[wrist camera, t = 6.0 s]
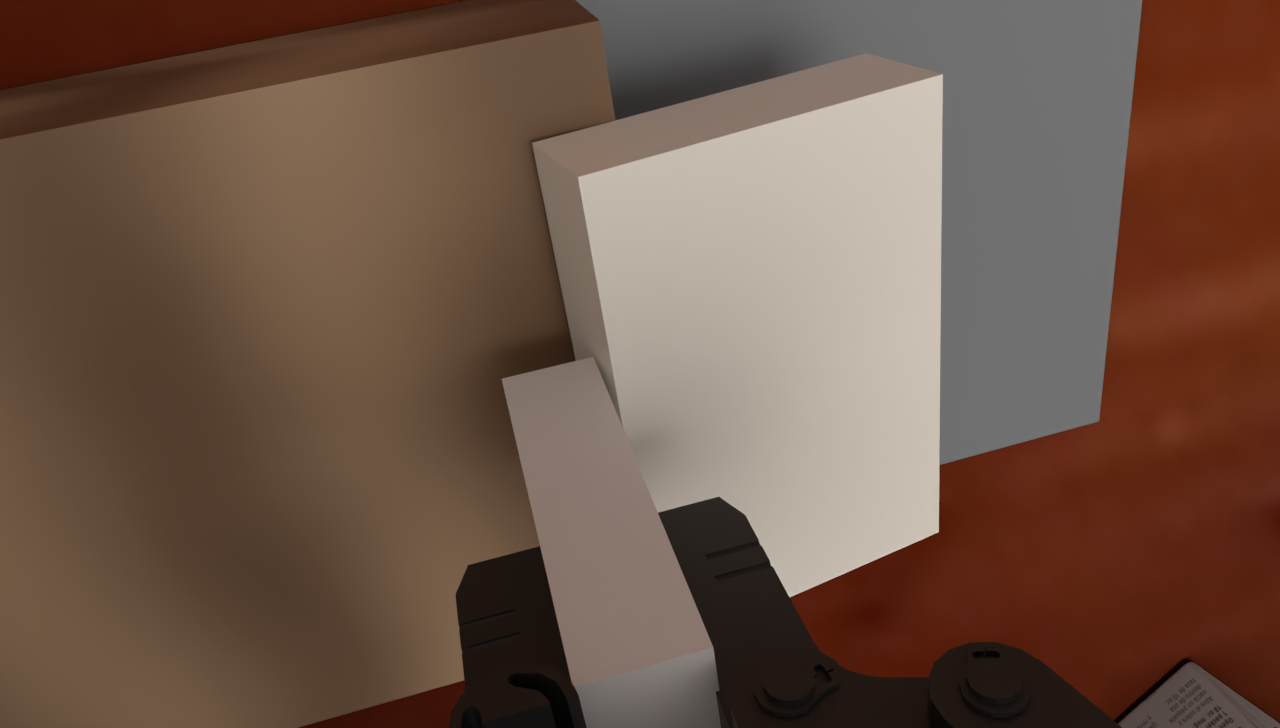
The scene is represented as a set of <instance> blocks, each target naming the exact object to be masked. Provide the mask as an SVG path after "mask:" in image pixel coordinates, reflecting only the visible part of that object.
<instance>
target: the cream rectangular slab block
mask: <svg viewBox="0 0 1280 728" xmlns="http://www.w3.org/2000/svg"><path fill="white" fill-rule="evenodd" d="M942 115H943V74H940V73H937V72H933V71H929V70H926V69H922V68H918V67H915V66H911V65H907V64H904V63H900V62H897V61H893V60H889V59H886V58H882V57H878V56H875V55H871V54H867V53H865V54H862V55H858V56H854V57H850V58H847V59H843V60H839V61H835V62H832V63H828V64H824V65H820V66H817V67H813V68H809V69H806V70H802V71H798V72H794V73H791V74H787V75H783V76H779V77H776V78H772V79H768V80H765V81H761V82H757V83H753V84H750V85H746V86H742V87H738V88H735V89H731V90H727V91H723V92H720V93H716V94H712V95H709V96H705V97H701V98H697V99H694V100H690V101H686V102H682V103H679V104H675V105H671V106H668V107H664V108H660V109H656V110H653V111H649V112H645V113H641V114H638V115H634V116H630V117H626V118H623V119H619V120H615V121H612V122H608V123H604V124H600V125H597V126H593V127H589V128H585V129H582V130H578V131H574V132H571V133H567V134H563V135H559V136H556V137H552V138H548V139H544V140H541V141H537V142H533V143H532V145H533V150H534V155H535V160H536V165H537V170H538V175H539V180H540V185H541V190H542V195H543V200H544V205H545V210H546V215H547V220H548V225H549V230H550V235H551V240H552V245H553V250H554V255H555V260H556V265H557V270H558V275H559V280H560V285H561V290H562V295H563V300H564V305H565V310H566V315H567V320H568V325H569V330H570V335H571V340H572V345H573V350H574V355H575V360H576V361H578V360H582V359H586V358H590V357H594V359H595V362H596V364H597V366H598V369H599V371H600V374H601V376H602V379H603V381H604V383H605V386H606V388H607V391H608V393H609V396H610V398H611V400H612V403H613V405H614V408H615V410H616V413H617V415H618V417H619V420H620V422H621V425H622V427H623V430H624V432H625V434H626V437H627V439H628V442H629V444H630V447H631V449H632V451H633V454H634V456H635V459H636V461H637V464H638V466H639V468H640V471H641V473H642V476H643V478H644V481H645V483H646V485H647V488H648V490H649V493H650V495H651V498H652V500H653V502H654V505H655V507H656V510H657V512H658V513H659V512H662V511H666V510H670V509H674V508H678V507H681V506H685V505H689V504H693V503H697V502H700V501H704V500H708V499H712V498H716V497H720V498H722V499H723V500H725V501H726V502H727V503H729V504H730V505H732V506H733V507H735V508H736V509H737V510H739V511H740V512H742V513H743V514H744V515H746V517H747V519H748V521H749V523H750V525H751V527H752V529H753V530H754V532H755V534H756V536H757V538H758V540H759V543H760V546H761V545H762V547H763V549H764V551H765V553H766V555H767V556H768V558H769V560H770V564H771V566H773V568H774V570H775V571H776V573H777V575H778V577H779V579H780V581H781V583H782V584H783V586H784V588H785V590H786V592H787V594H788V596H789V597H792V596H794V595H796V594H798V593H801V592H803V591H805V590H808V589H810V588H812V587H814V586H817V585H819V584H821V583H824V582H826V581H828V580H830V579H833V578H835V577H837V576H840V575H842V574H844V573H846V572H849V571H851V570H853V569H856V568H858V567H860V566H862V565H865V564H867V563H869V562H872V561H874V560H876V559H878V558H881V557H883V556H885V555H888V554H890V553H892V552H894V551H897V550H899V549H901V548H904V547H906V546H908V545H910V544H913V543H915V542H917V541H920V540H922V539H924V538H926V537H929V536H931V535H933V534H936V533H938V532H939V448H940V337H941V226H942Z"/></svg>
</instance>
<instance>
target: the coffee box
mask: <svg viewBox="0 0 1280 728" xmlns="http://www.w3.org/2000/svg"><path fill="white" fill-rule="evenodd" d="M1118 725H1120V726H1121V727H1122V728H1280V723H1278V722H1277V721H1275V720H1274V719H1273V718H1271V717H1270V716H1268V715H1267V714H1265V713H1264V712H1263V711H1261V710H1260V709H1258V708H1257V707H1256V706H1254V705H1253V704H1251V703H1250V702H1249V701H1247V700H1246V699H1244V698H1243V697H1242V696H1240V695H1239V694H1237V693H1236V692H1234V691H1233V690H1232V689H1230V688H1229V687H1227V686H1226V685H1225V684H1223V683H1222V682H1220V681H1219V680H1217V679H1216V678H1215V677H1213V676H1212V675H1210V674H1209V673H1208V672H1206V671H1205V670H1204V669H1202V668H1201V667H1200V666H1198V665H1197V664H1195V663H1193V662H1189V663H1186V664H1185V665H1183V666H1182V667H1181V668H1180V669H1179V670H1178V671H1177V672H1175V673H1174V674H1173V675H1172V676H1171V677H1170V678H1169V679H1167V680H1166V681H1165V682H1164V683H1163V684H1162V685H1161V686H1160V687H1159V688H1158V689H1156V690H1155V691H1154V692H1153V693H1152V694H1151V695H1150V696H1148V697H1147V698H1146V699H1145V700H1144V701H1142V702H1141V703H1140V704H1139V705H1138V706H1137V707H1136V708H1135V709H1133V710H1132V711H1131V712H1130V713H1129V714H1128V715H1127V716H1126V717H1124V718H1123V719H1122V720H1121V721H1120V722H1119V723H1118Z"/></svg>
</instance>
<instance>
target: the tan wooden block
mask: <svg viewBox="0 0 1280 728" xmlns="http://www.w3.org/2000/svg"><path fill="white" fill-rule="evenodd" d="M612 121H615V114H614V108H613V102H612V95H611V89H610V83H609V76H608V70H607V64H606V57H605V51H604V44H603V38H602V32H601V25H600V20H599V19H597V18H596V17H595V16H594V15H593V14H591V13H590V12H589V11H588V10H587V9H585V8H584V7H583V6H582V5H581V4H579V3H578V2H577V1H576V0H466V1H461V2H456V3H451V4H446V5H440V6H435V7H430V8H425V9H419V10H414V11H409V12H404V13H399V14H393V15H388V16H383V17H378V18H373V19H367V20H362V21H357V22H352V23H347V24H341V25H336V26H331V27H326V28H321V29H315V30H310V31H305V32H300V33H294V34H289V35H284V36H279V37H274V38H268V39H263V40H258V41H253V42H248V43H242V44H237V45H232V46H227V47H222V48H216V49H211V50H206V51H201V52H196V53H190V54H185V55H180V56H175V57H170V58H164V59H159V60H154V61H149V62H143V63H138V64H133V65H128V66H123V67H117V68H112V69H107V70H102V71H97V72H91V73H86V74H81V75H76V76H71V77H65V78H60V79H55V80H50V81H45V82H39V83H34V84H29V85H24V86H19V87H13V88H8V89H3V90H0V728H298V727H302V726H305V725H309V724H312V723H316V722H319V721H323V720H326V719H330V718H333V717H337V716H340V715H344V714H347V713H351V712H354V711H358V710H361V709H365V708H368V707H372V706H375V705H379V704H382V703H386V702H389V701H393V700H396V699H400V698H403V697H407V696H410V695H414V694H417V693H421V692H424V691H428V690H431V689H435V688H438V687H442V686H445V685H449V684H452V683H456V682H459V681H463V680H464V671H463V662H462V650H461V643H460V633H459V630H460V628H459V624H458V615H457V605H456V596H455V594H456V592H457V590H458V587H459V585H460V583H461V580H462V578H463V576H464V573H465V571H466V569H467V566H468V565H470V564H474V563H478V562H482V561H485V560H489V559H493V558H497V557H501V556H504V555H508V554H512V553H516V552H520V551H523V550H527V549H531V548H535V547H539V546H540V543H539V539H538V535H537V530H536V526H535V522H534V517H533V513H532V509H531V504H530V500H529V496H528V491H527V487H526V483H525V478H524V474H523V470H522V465H521V461H520V457H519V452H518V448H517V444H516V439H515V435H514V431H513V426H512V422H511V418H510V413H509V409H508V405H507V400H506V396H505V392H504V387H503V383H502V379H503V378H507V377H511V376H515V375H519V374H523V373H528V372H532V371H536V370H540V369H544V368H548V367H553V366H557V365H561V364H565V363H569V362H574V361H576V360H575V355H574V350H573V345H572V340H571V335H570V330H569V325H568V320H567V315H566V310H565V305H564V300H563V295H562V290H561V285H560V280H559V275H558V270H557V265H556V260H555V255H554V250H553V245H552V240H551V235H550V230H549V225H548V220H547V215H546V210H545V205H544V200H543V195H542V190H541V185H540V180H539V175H538V170H537V165H536V160H535V155H534V150H533V145H532V143H533V142H537V141H541V140H544V139H548V138H552V137H556V136H559V135H563V134H567V133H571V132H574V131H578V130H582V129H585V128H589V127H593V126H597V125H600V124H604V123H608V122H612Z"/></svg>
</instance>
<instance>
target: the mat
mask: <svg viewBox="0 0 1280 728" xmlns="http://www.w3.org/2000/svg"><path fill="white" fill-rule="evenodd" d="M576 1H577V2H578V3H579V4H581V5H582V6H583V7H584V8H585V9H587V10H588V11H589V12H590V13H591V14H593V15H594V16H595V17H596V18H597V19H599V20H600V25H601V32H602V38H603V44H604V51H605V57H606V64H607V70H608V76H609V83H610V89H611V95H612V102H613V108H614V114H615V120H619V119H623V118H626V117H630V116H634V115H638V114H641V113H645V112H649V111H653V110H656V109H660V108H664V107H668V106H671V105H675V104H679V103H682V102H686V101H690V100H694V99H697V98H701V97H705V96H709V95H712V94H716V93H720V92H723V91H727V90H731V89H735V88H738V87H742V86H746V85H750V84H753V83H757V82H761V81H765V80H768V79H772V78H776V77H779V76H783V75H787V74H791V73H794V72H798V71H802V70H806V69H809V68H813V67H817V66H820V65H824V64H828V63H832V62H835V61H839V60H843V59H847V58H850V57H854V56H858V55H862V54H865V53H867V54H871V55H875V56H878V57H882V58H886V59H889V60H893V61H897V62H900V63H904V64H907V65H911V66H915V67H918V68H922V69H926V70H929V71H933V72H937V73H940V74H943V115H942V226H941V337H940V448H939V465H941V464H944V463H948V462H952V461H955V460H959V459H963V458H966V457H970V456H974V455H977V454H981V453H985V452H988V451H992V450H996V449H999V448H1003V447H1007V446H1010V445H1014V444H1018V443H1021V442H1025V441H1029V440H1032V439H1036V438H1040V437H1043V436H1047V435H1050V434H1054V433H1058V432H1061V431H1065V430H1069V429H1072V428H1076V427H1080V426H1083V425H1087V424H1091V423H1094V422H1098V421H1099V416H1100V406H1101V396H1102V387H1103V377H1104V367H1105V358H1106V348H1107V338H1108V328H1109V319H1110V309H1111V299H1112V290H1113V280H1114V270H1115V260H1116V251H1117V241H1118V231H1119V222H1120V212H1121V202H1122V192H1123V183H1124V173H1125V163H1126V154H1127V144H1128V134H1129V124H1130V115H1131V105H1132V95H1133V86H1134V76H1135V66H1136V56H1137V47H1138V37H1139V27H1140V18H1141V8H1142V0H576Z"/></svg>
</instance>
